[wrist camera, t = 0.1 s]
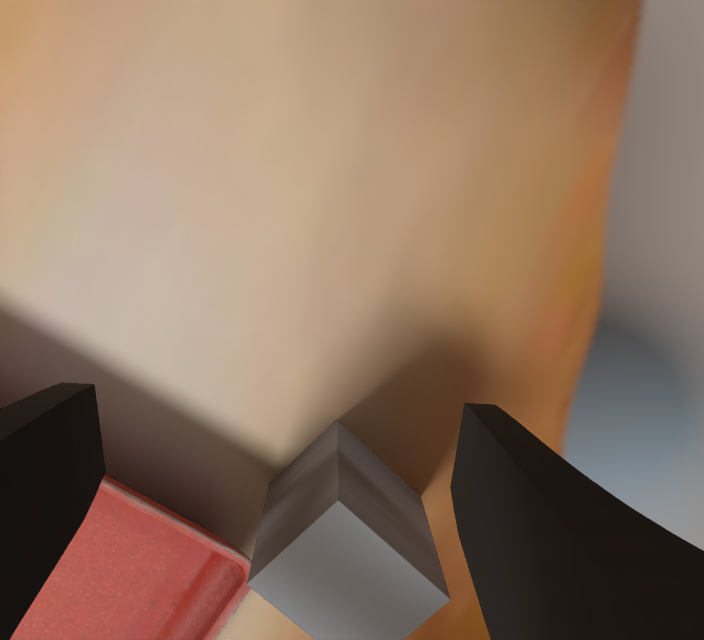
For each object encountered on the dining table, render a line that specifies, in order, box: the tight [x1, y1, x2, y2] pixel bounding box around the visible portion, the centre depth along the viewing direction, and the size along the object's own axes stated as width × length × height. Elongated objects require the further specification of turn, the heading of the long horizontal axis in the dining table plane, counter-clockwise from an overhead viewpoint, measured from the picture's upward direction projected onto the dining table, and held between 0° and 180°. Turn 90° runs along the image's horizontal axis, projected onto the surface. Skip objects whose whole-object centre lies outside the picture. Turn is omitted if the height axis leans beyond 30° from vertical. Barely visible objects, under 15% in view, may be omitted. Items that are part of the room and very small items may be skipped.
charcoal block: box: [247, 420, 451, 640], centre depth 19 cm, size 4×5×6 cm
